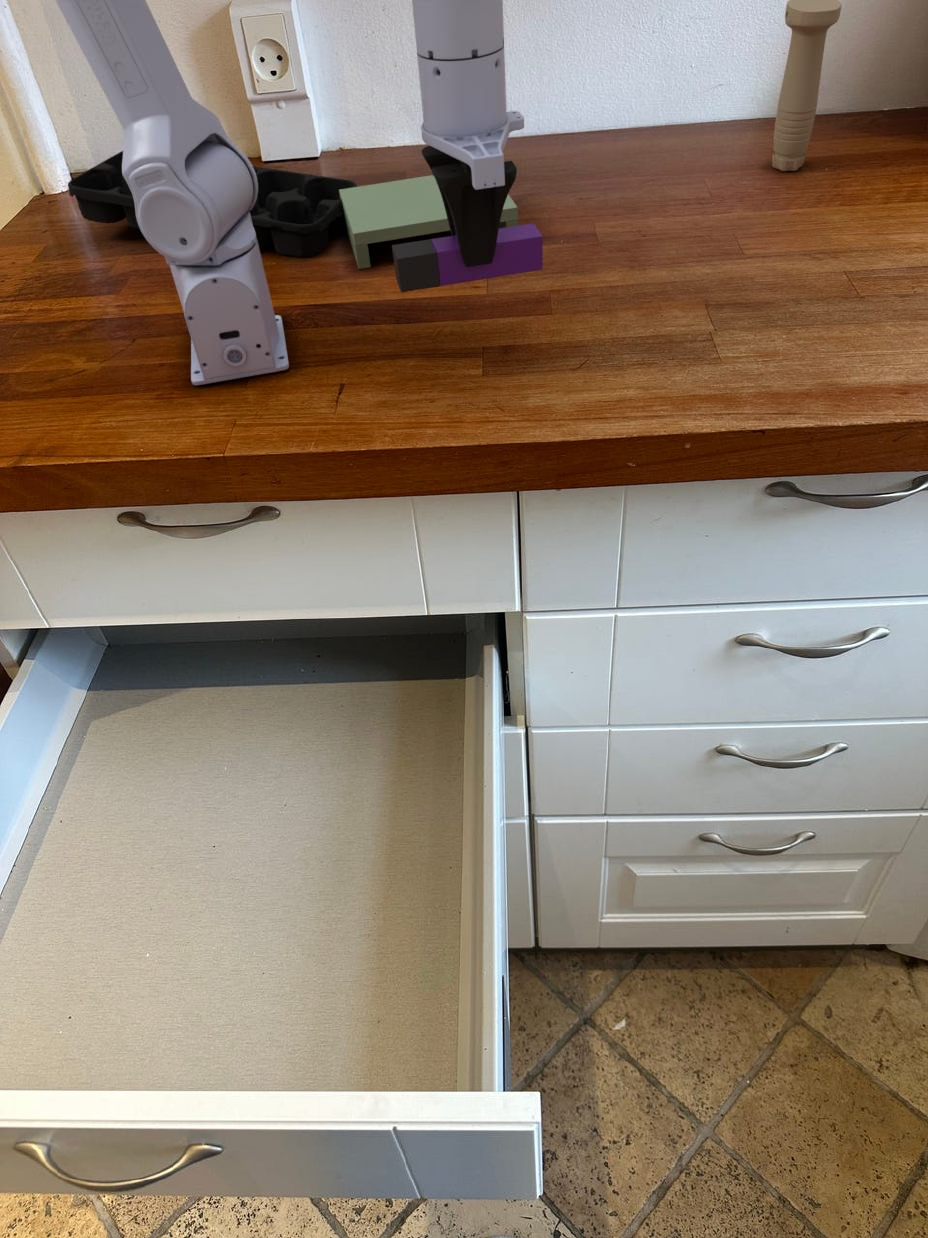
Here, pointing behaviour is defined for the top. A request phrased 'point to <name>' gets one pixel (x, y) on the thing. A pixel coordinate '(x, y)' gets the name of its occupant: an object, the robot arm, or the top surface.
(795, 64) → the handle
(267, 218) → the egg carton
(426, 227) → the shelf
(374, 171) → the top surface
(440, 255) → the marker
